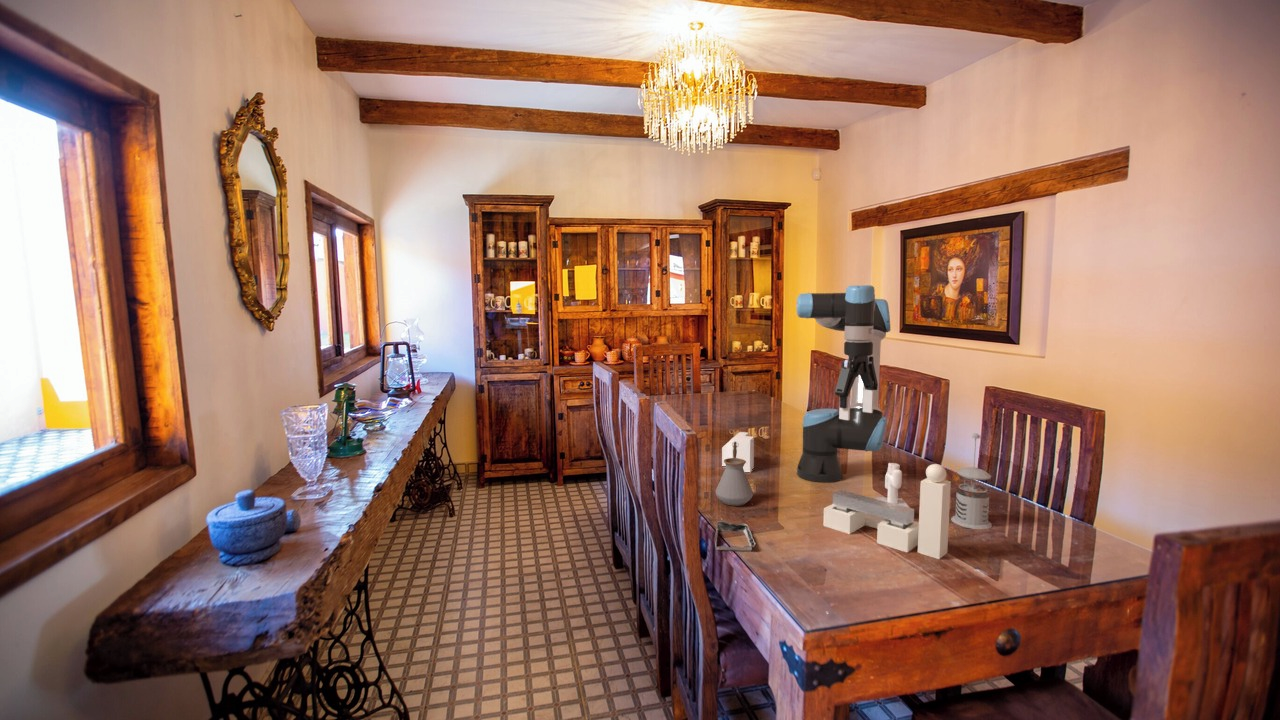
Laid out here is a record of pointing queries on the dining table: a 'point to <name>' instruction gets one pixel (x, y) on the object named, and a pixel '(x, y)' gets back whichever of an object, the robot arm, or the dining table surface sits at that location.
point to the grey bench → (874, 508)
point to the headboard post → (923, 533)
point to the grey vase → (734, 482)
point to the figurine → (893, 485)
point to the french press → (972, 499)
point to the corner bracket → (740, 450)
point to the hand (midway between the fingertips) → (856, 415)
